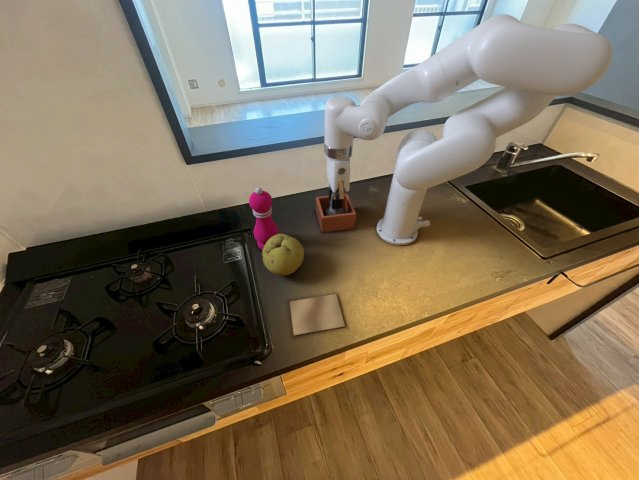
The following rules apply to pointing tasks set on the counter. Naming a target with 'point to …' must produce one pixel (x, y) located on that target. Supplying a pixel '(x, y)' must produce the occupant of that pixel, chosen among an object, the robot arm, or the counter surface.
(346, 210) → the holder
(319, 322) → the board
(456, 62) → the robot arm
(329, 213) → the grey stone figurine
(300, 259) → the fruit
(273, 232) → the pepper mill
